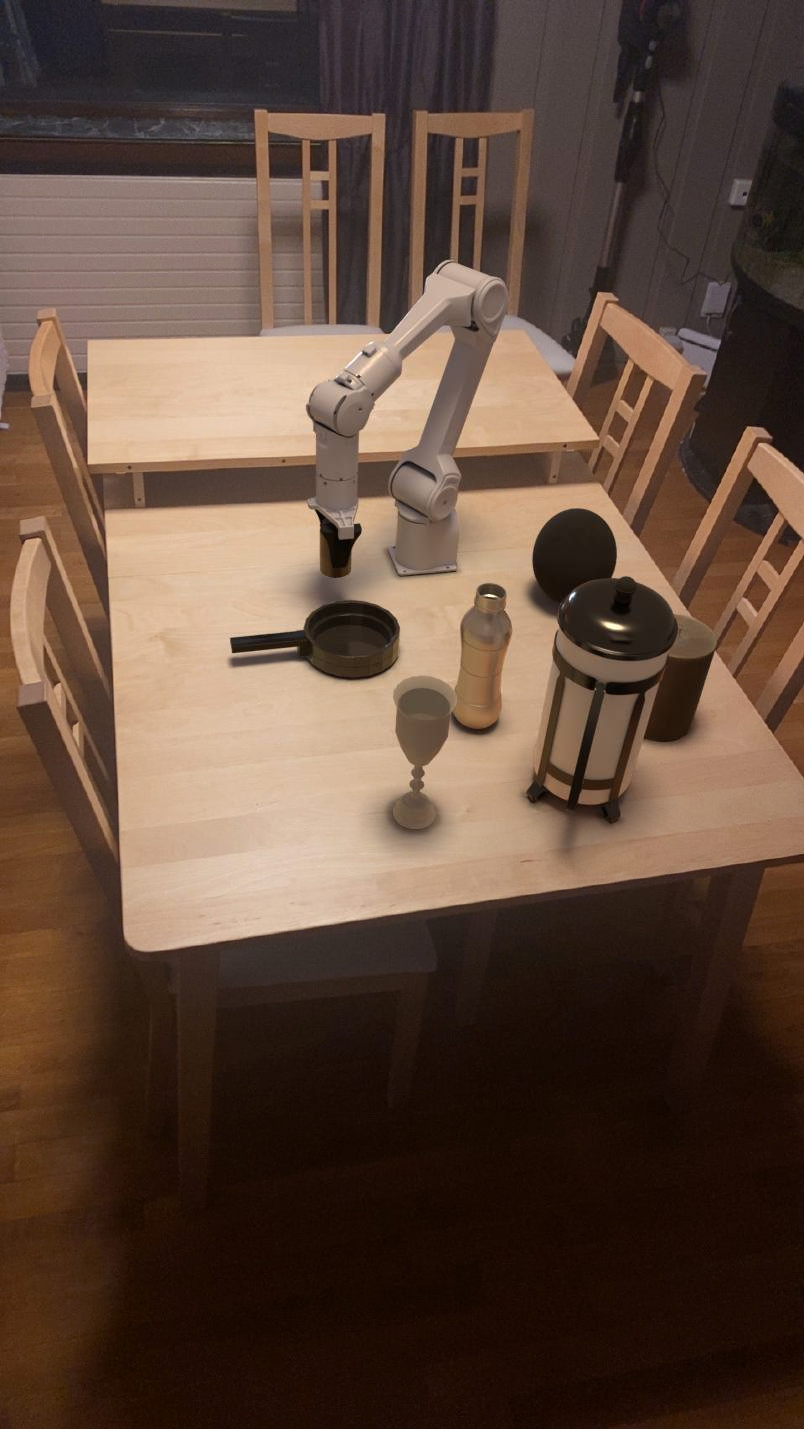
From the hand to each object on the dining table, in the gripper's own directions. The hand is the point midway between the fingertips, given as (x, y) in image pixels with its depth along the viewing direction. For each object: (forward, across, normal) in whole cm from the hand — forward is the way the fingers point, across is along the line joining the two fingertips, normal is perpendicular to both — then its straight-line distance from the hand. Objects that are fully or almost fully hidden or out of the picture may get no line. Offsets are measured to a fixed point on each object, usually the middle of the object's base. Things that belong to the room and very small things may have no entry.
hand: (335, 556), depth 145 cm
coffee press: (+8, +44, +22) cm, 50 cm away
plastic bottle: (+8, +29, +13) cm, 33 cm away
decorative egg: (+8, +6, +35) cm, 36 cm away
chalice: (+8, +44, +1) cm, 45 cm away
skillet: (+8, +12, 0) cm, 15 cm away
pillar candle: (+8, +34, +37) cm, 50 cm away
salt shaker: (+2, 0, 0) cm, 2 cm away
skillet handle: (+7, +12, -12) cm, 18 cm away
